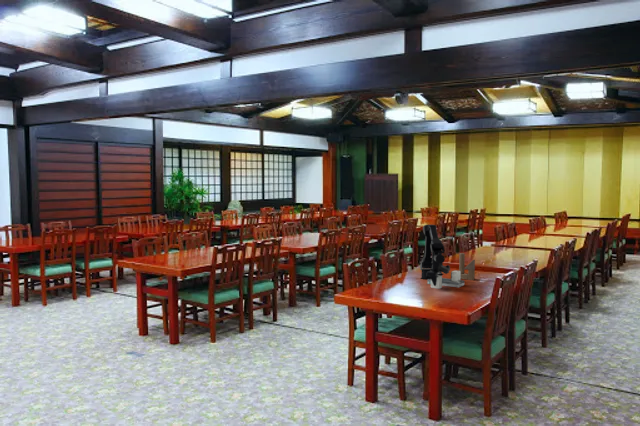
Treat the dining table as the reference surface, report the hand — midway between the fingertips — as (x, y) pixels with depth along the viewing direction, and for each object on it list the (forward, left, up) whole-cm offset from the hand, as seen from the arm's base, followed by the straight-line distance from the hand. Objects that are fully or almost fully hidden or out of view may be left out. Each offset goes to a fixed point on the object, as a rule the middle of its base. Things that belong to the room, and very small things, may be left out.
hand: (436, 285), depth 340 cm
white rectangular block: (0, 0, -2) cm, 2 cm away
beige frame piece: (+6, +40, -2) cm, 40 cm away
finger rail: (+1, +14, -2) cm, 14 cm away
